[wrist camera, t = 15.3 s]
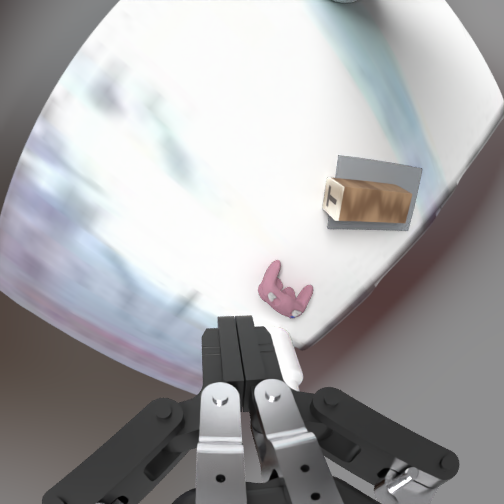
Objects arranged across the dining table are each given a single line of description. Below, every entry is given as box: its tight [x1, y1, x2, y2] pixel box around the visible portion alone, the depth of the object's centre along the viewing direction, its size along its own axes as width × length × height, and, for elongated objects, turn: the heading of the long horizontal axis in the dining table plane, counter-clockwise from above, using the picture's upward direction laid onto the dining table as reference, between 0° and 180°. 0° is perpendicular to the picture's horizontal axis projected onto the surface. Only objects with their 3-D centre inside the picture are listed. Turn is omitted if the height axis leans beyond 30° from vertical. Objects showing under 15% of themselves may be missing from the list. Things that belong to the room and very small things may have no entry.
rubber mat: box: [327, 155, 422, 231], centre depth 45 cm, size 17×12×1 cm
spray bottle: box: [267, 327, 303, 391], centre depth 49 cm, size 7×7×18 cm
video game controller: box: [258, 260, 313, 318], centre depth 48 cm, size 10×5×7 cm, turn 48°
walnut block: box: [323, 177, 412, 223], centre depth 42 cm, size 5×5×13 cm
